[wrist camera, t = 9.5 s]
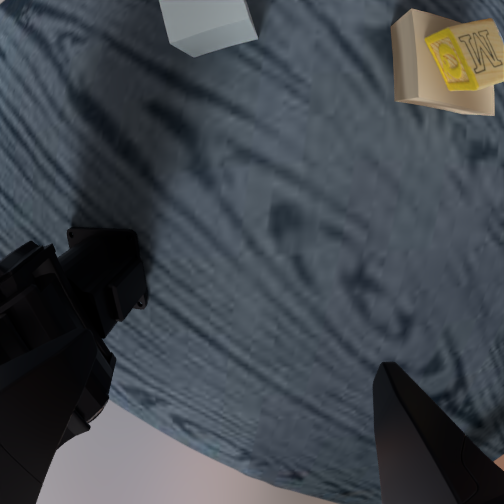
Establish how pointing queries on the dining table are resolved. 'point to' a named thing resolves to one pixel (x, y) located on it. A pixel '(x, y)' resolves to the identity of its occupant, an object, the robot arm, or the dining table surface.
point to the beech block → (429, 68)
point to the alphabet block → (469, 55)
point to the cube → (207, 24)
